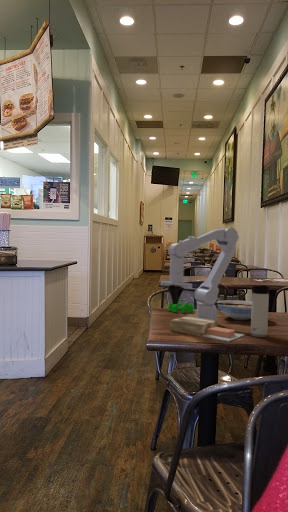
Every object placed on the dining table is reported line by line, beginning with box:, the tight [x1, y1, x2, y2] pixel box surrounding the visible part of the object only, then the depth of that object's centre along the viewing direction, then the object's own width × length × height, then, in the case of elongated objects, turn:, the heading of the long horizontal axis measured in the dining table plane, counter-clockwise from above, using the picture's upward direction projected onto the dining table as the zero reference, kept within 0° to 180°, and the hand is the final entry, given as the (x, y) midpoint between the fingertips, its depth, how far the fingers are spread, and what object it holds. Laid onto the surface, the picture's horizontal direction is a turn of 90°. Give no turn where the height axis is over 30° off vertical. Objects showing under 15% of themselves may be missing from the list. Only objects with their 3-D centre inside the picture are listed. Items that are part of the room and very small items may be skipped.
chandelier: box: [166, 297, 196, 314], centre depth 208 cm, size 15×15×7 cm
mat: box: [201, 332, 246, 343], centre depth 154 cm, size 14×11×1 cm
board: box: [169, 315, 219, 337], centre depth 163 cm, size 14×14×4 cm
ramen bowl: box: [214, 299, 271, 321], centre depth 192 cm, size 25×23×8 cm
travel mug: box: [250, 284, 270, 338], centre depth 157 cm, size 6×7×20 cm
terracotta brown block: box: [206, 326, 236, 338], centre depth 155 cm, size 6×9×2 cm, turn 52°
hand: (175, 304), depth 169 cm, fingers closed
